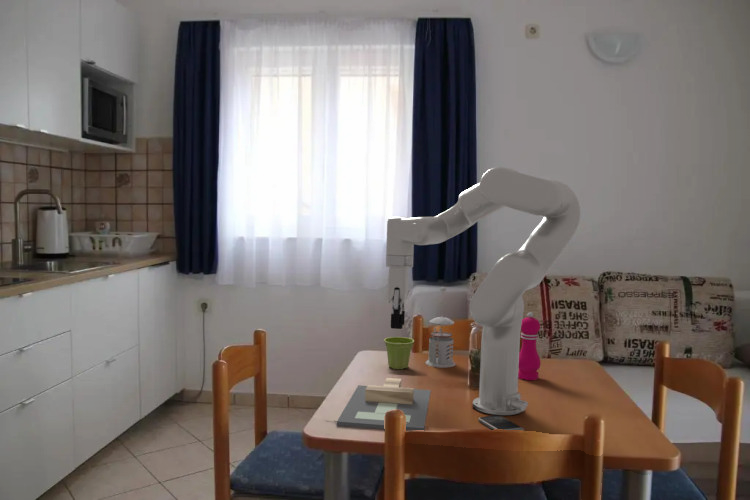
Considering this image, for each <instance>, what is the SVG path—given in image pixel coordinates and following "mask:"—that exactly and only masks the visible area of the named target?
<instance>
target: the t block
mask: <svg viewBox="0 0 750 500" xmlns="http://www.w3.org/2000/svg"><path fill="white" fill-rule="evenodd" d="M366 386H367V387H366V389H365V401H372V402H386V403H400V404H412V403H413V398H414V389H415V388H414V387H403V386H402V378H395V377H394V378H393V377H392V378H391V377H386V378H385V381H384V383H383V385H374V384H373V385H371V384H370V385H369V384H368V385H366Z"/></svg>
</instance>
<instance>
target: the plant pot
mask: <svg viewBox="0 0 750 500" xmlns="http://www.w3.org/2000/svg"><path fill="white" fill-rule="evenodd" d="M383 341H384V343H385V346H386V354H387V363H388V364H387V365H388V367H389V368H392V369H393V370H403V369H407V368H409V364H410V363H409V361H410V356H411V352H412V347H413V345H414V344H413V343H415V340H414V338H410V337H405V336H404V337H403V336H389V337H386V338H384V340H383Z"/></svg>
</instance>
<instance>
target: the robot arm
mask: <svg viewBox="0 0 750 500" xmlns="http://www.w3.org/2000/svg"><path fill="white" fill-rule="evenodd" d="M503 208H508V209H509V208H510V209H513V210H517V211H520V212H523V213H527V214H530V215H533V216H539V217H542V220H541V221H540V222H539V224H538V225H537V226H536V227H535V228H534V229H533V230H532V232H531V233H530V234H529V237H528V238H527V239H526V241H525V242H524V243H523V245H522V246H520V248H519V249H518V250H516V251H513V252H508V253H506V254H505V255H503V256H501V257H500V259H498V260H497V261H496V262H495V264H494V265H493V266H492V267H491V269H490V271H489V272H488V274H487V275H486V276H485V278H483V281H482V282H481V283H480V284H479V286H478V287H477V289H476V290H475V291H474V294H473V295H472V297H471V300H470V302H469V312H470V313H469V314H470V316H471V318H472V320H473V321H474V323H476V324H477V325H479V326H480V327H482V331H481V342H480V344H481V345H480V364H479V366H480V367H479V369H480V370H479V389H478V390H479V392H478V397H475V398H474V399H473V401H472V407H473V408H474V409H475V410H477V411H479V412H481V413H485V414H489V415H493V416H494V415H499V416H512V415H518V414H520V413H522V412H524V411H526V409H527V407H528V405H529V403H528V401H526V400H522V398H521V393H520V392H518V388H519V387H518V386H519V378H518V370H519V368H518V367H519V353H520V349H521V348H520V344H521V343H520V341H521V333H522V331H521V324H522V319H524V318H523V317H524V310H525V309H524V308H525V303H524V299H523V295H524V293H525V292H526V291H528V290H531V289H533V288H536V287H537V286H539V284H541V282H542V281H543V280H544V278H545V277H546V275H547V274H548V272H550V270H551V268H552V267H553V266H554V264H555V263H556V261H557V260H558V258H559V257H560V255H561V254H562V253H563V251H564V250H565V248H566V247H567V245H569V243H570V241H571V240H572V239H573V237H574V236H575V234H576V231H577V230H578V227H579V224H580V221H581V206H580V201H579V200H578V197H577V196H576V193H575V192H574V191H573V189H572V188H571V187H570V186H568V185H567V184H565V183H563V182H561V181H557V180H552V179H545V178H541V177H537V176H533V175H529V174H524V173H521V172H519V171H518V170H516V169H514V168H511V167H509V168H508V167H503V166H495V167H492V168H489V169H488V170H486V171H485V172H484V173H483V175H482V176H481V178H480V179H479V182H478V183H476V184H474V185H472V186H471V187H469V188H468V189H465V190H464V191H461V193H460V194H459V195H458V200H457V202H456V203H455V204H454V205H453V206H451V207H450V208H449V209H447V210H445V211H443V212H441V213H438V215H435V216H417V217H410V216H391V217H389V218H388V219H387V222H386V247H385V248H386V251H385V252H386V253H385V254H386V255H385V267H387V268H388V278H387V291H386V292H387V293H386V294H387V296H386V302H387V303H388V304H390V303H391V302H392V303H391V314H390V328H391V329H395V330H397V329H398V330H402V329H403V326H405V319H406V318H405V316H406V314H405V313H406V311H405V302H406V301H407V299H408V292H409V291H408V290H409V273H410V269H411V268H414V254H415V253H414V251H415V250H414V249H415V248H414V247H415V246H414V245H417V246H428V245H436V244H441V243H443V242H446V241H447V240H449V239H452V238H454V237H455V236H458V235H459V234H461V233H463V232H465V231H467V230H468V229H469V228H470V227H472V226H474V225H475V224H476V223H478V222H479V221H480V220H482V219H485V218H486V217H488V216H490V215H492V214H494V213H496V212H498V211H500V210H501V209H503Z"/></svg>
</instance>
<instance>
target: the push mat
mask: <svg viewBox="0 0 750 500" xmlns="http://www.w3.org/2000/svg"><path fill="white" fill-rule="evenodd" d="M367 386H368V385H361V384H360V385H357V387H356V389H355V390H354V392H353V393H352V395H351V397H350V399H349V400H348V402H347V403H346V406H345V407H344V408H343V410H342V412H341V414H340V415H339V417H338V419H337V420H336V426H337V427H346V428H348V427H349V428H360V429H361V428H362V429H363V428H364V429H375V430H385V429H384V416H385V413H386V412H387V411H390V410H393V409H399V410H402V411H403V412H404V414H405V416H406V423H407V424H406V430H424V431H425V429H426V426H425V425H426V420H427V414H428V409H429V403H430V397H431V390H430V389H419V388H414V398H413V403H412V404H400V403H386V402H372V401H365V389H366V387H367Z"/></svg>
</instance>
